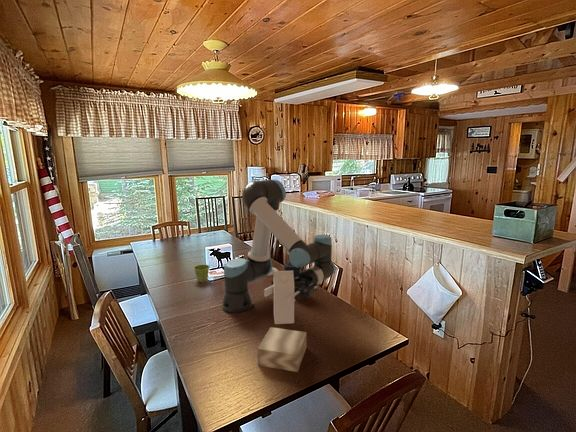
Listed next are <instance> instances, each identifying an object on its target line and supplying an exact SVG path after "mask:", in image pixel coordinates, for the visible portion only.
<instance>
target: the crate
mask: <svg viewBox="0 0 576 432" xmlns="http://www.w3.org/2000/svg"><path fill="white" fill-rule="evenodd" d="M307 333H308V332H306V331H301V330H294V329H293V330H292V329H286V328H281V327H273V326H272V327H269V329H268V330H267V332H266V333H265V336H264V337H263V339H262V340H261V342H260V344H259V345H258V347H257V365H258V366H259V367H265V368H266V367H267V368H271V369H278V370H283V371H284V370H285V371H290V372H295V373H299V370H300V367H301V364H302V361H303V358H304V356H305V353H306V349H307V336H308V335H307Z"/></svg>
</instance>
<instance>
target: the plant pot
mask: <svg viewBox="0 0 576 432" xmlns="http://www.w3.org/2000/svg"><path fill="white" fill-rule="evenodd" d="M210 267H211V266H210V265H209V264H197V265H195V266H194V267H193V270H194V272H195V277H196V281H197V282H198V283H206V282H208V280H209V270H210Z"/></svg>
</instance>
